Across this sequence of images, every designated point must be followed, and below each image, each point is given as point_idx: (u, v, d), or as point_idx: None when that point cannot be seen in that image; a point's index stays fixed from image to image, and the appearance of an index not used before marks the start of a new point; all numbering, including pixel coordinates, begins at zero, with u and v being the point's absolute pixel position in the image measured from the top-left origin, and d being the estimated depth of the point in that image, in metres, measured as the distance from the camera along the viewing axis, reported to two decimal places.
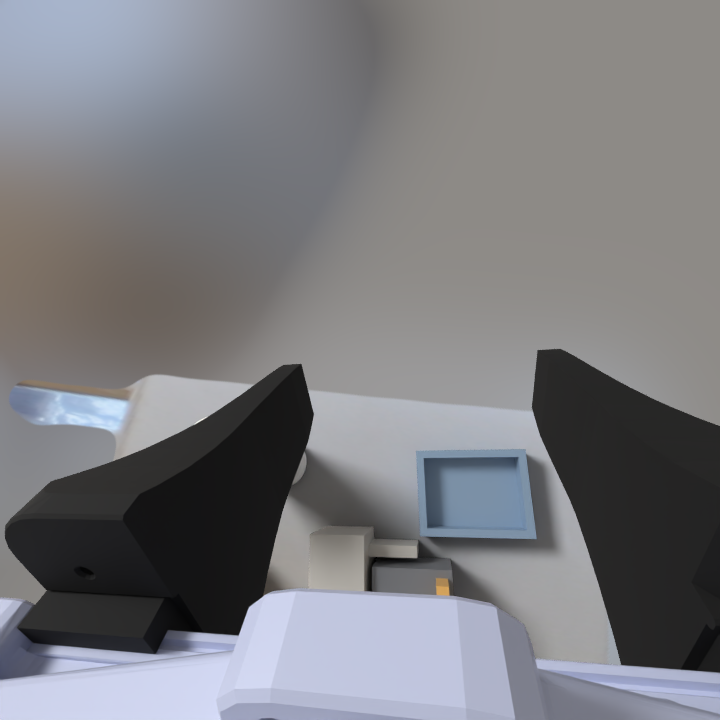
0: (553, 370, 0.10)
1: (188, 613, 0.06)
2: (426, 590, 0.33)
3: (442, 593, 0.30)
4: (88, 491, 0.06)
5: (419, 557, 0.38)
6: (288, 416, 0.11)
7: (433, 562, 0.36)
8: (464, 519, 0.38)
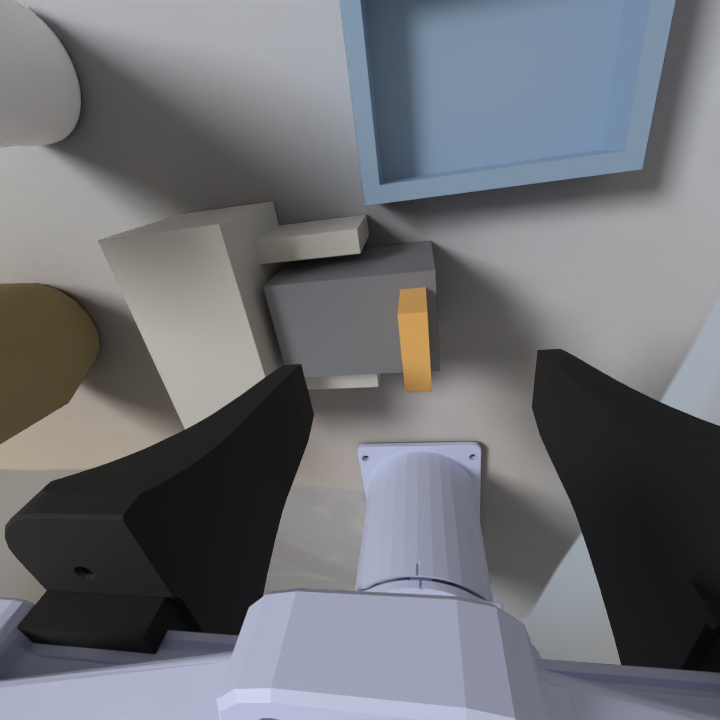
0: (553, 370, 0.10)
1: (188, 613, 0.06)
2: (380, 314, 0.16)
3: (411, 326, 0.13)
4: (88, 491, 0.06)
5: (371, 247, 0.19)
6: (288, 416, 0.11)
7: (396, 255, 0.17)
8: (466, 152, 0.16)
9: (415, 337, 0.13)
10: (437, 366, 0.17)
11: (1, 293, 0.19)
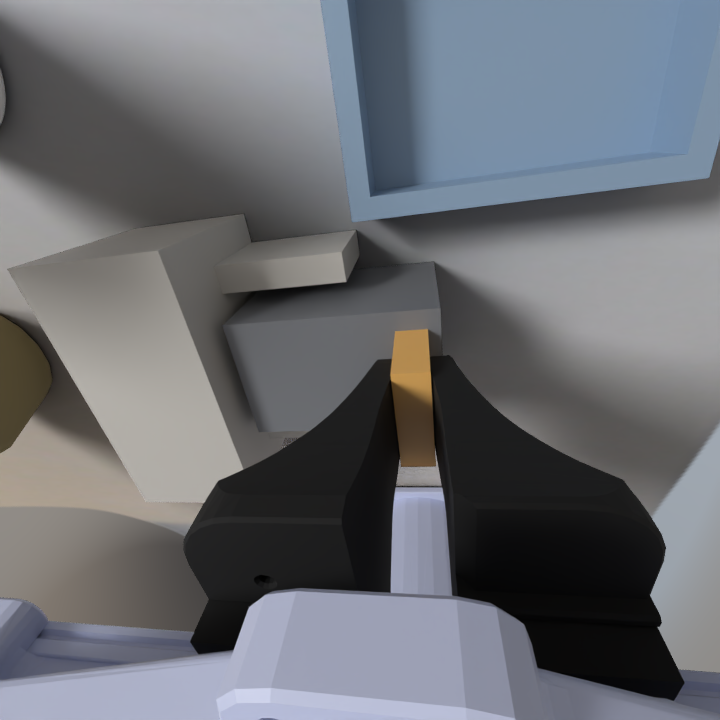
0: None
1: None
2: (370, 361, 0.12)
3: (409, 389, 0.10)
4: (277, 492, 0.05)
5: (361, 269, 0.16)
6: (393, 413, 0.10)
7: (391, 282, 0.14)
8: (478, 155, 0.13)
9: (414, 403, 0.10)
10: None
11: None
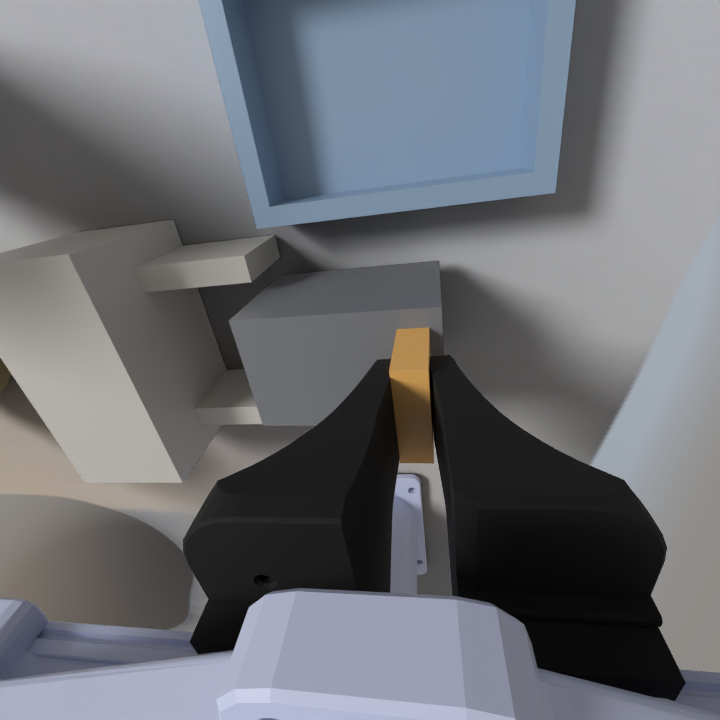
0: (431, 376, 0.10)
1: None
2: (372, 358, 0.13)
3: (407, 386, 0.10)
4: (276, 492, 0.05)
5: (367, 267, 0.16)
6: (393, 413, 0.10)
7: (396, 280, 0.14)
8: (372, 169, 0.15)
9: (413, 400, 0.10)
10: None
11: None
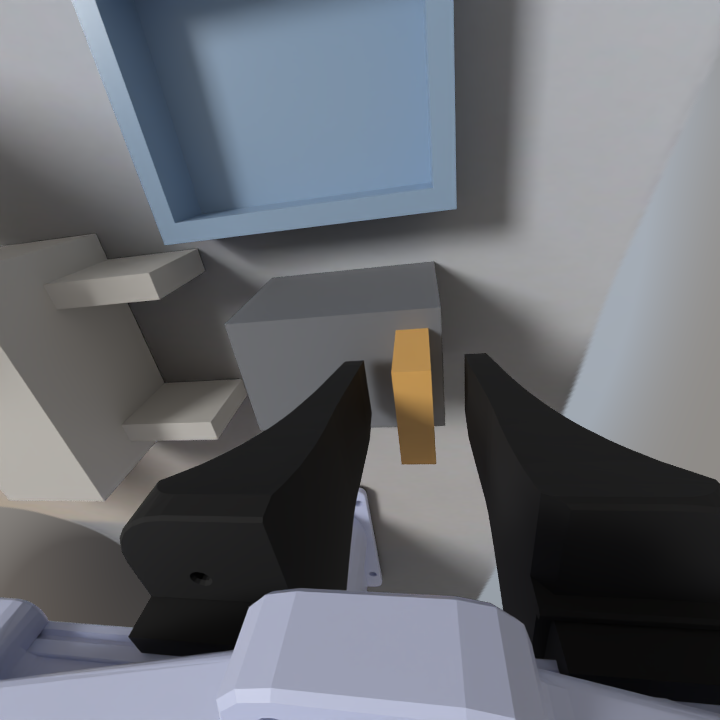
0: (471, 374, 0.10)
1: None
2: (371, 360, 0.12)
3: (409, 388, 0.10)
4: (209, 492, 0.05)
5: None
6: (357, 414, 0.10)
7: (392, 281, 0.14)
8: (284, 183, 0.14)
9: (415, 401, 0.10)
10: (442, 420, 0.13)
11: None
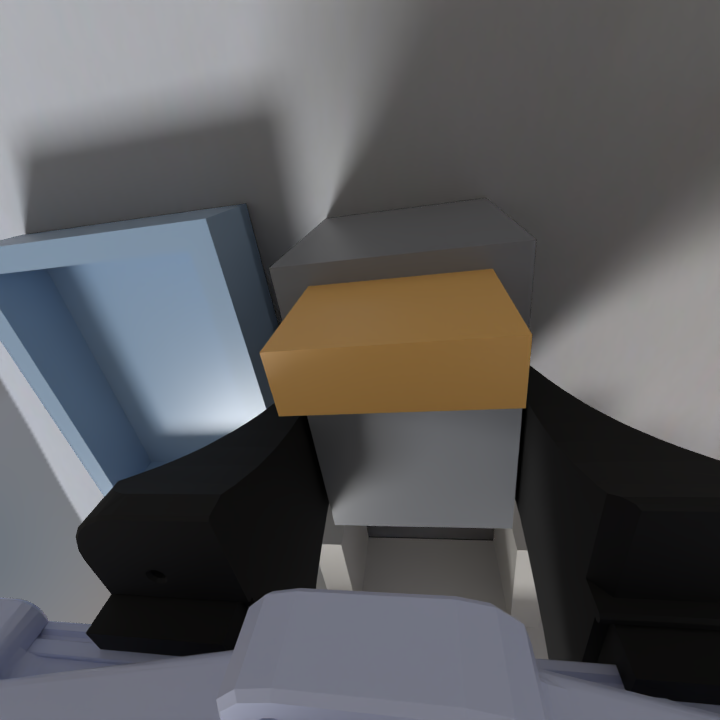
0: None
1: None
2: None
3: (306, 388, 0.05)
4: (162, 491, 0.06)
5: None
6: None
7: None
8: None
9: (338, 379, 0.05)
10: (522, 246, 0.06)
11: None
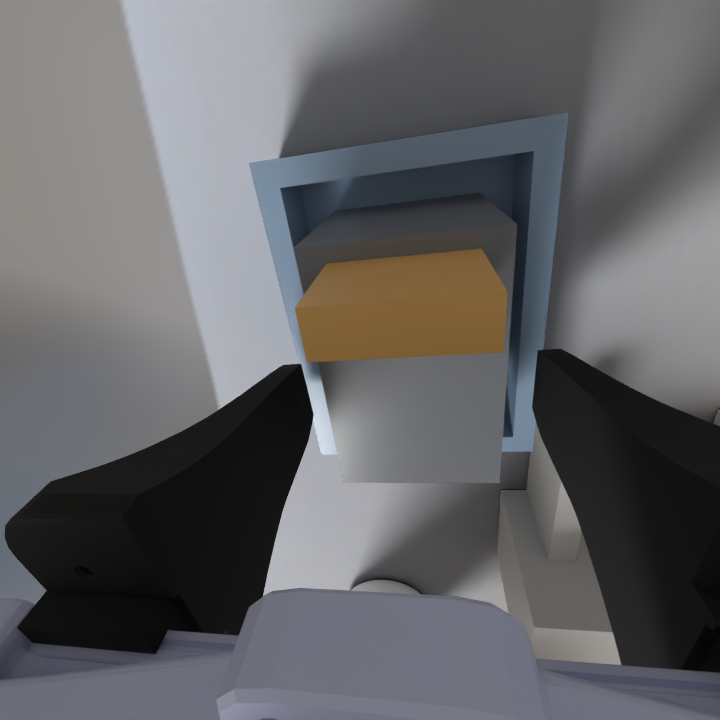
0: (553, 370, 0.10)
1: (188, 613, 0.06)
2: None
3: (330, 338, 0.06)
4: (88, 491, 0.06)
5: None
6: (288, 416, 0.11)
7: None
8: None
9: (356, 329, 0.06)
10: (505, 230, 0.07)
11: None
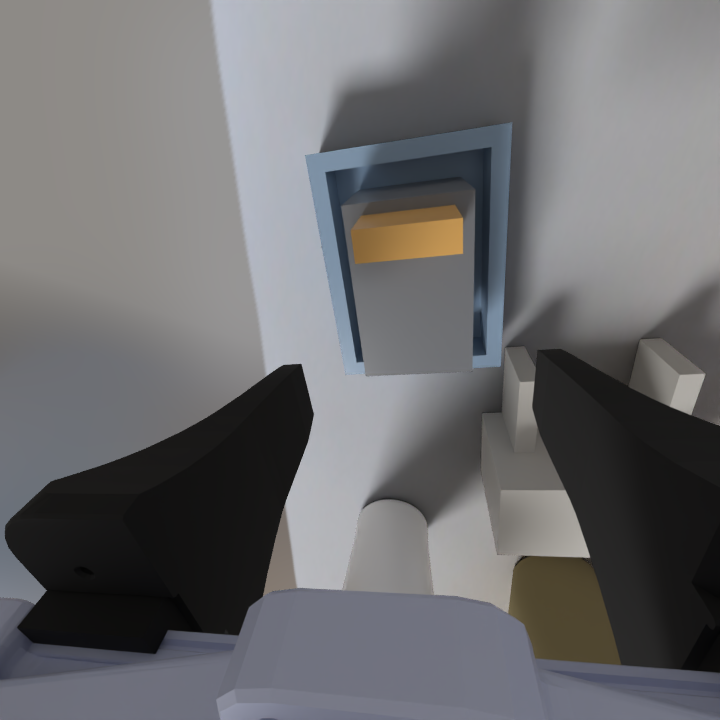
0: (553, 370, 0.10)
1: (188, 613, 0.06)
2: (394, 266, 0.14)
3: (369, 248, 0.11)
4: (88, 491, 0.06)
5: None
6: (288, 416, 0.11)
7: None
8: None
9: (383, 242, 0.11)
10: (468, 192, 0.13)
11: (518, 601, 0.27)
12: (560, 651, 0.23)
